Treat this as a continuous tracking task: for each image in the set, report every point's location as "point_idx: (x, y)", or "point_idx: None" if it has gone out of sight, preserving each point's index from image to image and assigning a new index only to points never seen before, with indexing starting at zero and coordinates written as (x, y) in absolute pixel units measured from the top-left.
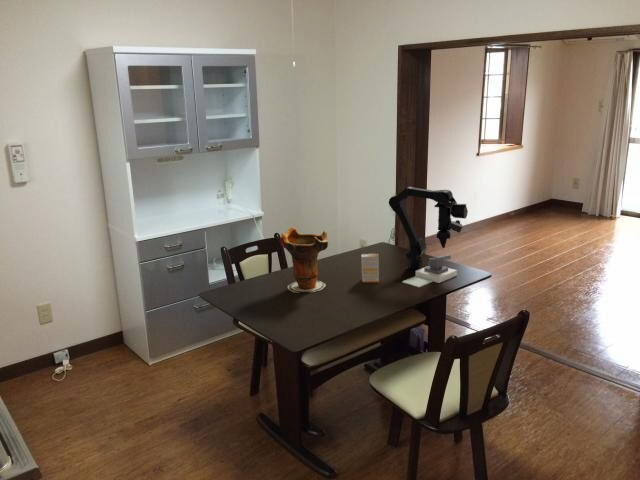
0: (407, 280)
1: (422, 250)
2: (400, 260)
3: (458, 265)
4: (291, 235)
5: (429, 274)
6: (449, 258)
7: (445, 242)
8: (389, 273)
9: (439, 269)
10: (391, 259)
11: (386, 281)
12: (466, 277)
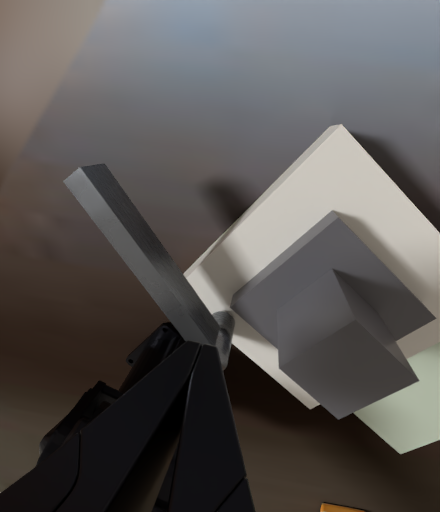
0: (390, 432)
1: (167, 470)
2: (60, 390)
3: (70, 80)
4: None
5: (405, 354)
6: (109, 176)
7: (243, 473)
8: (245, 457)
9: (382, 298)
10: (56, 417)
11: (355, 486)
12: (377, 33)
